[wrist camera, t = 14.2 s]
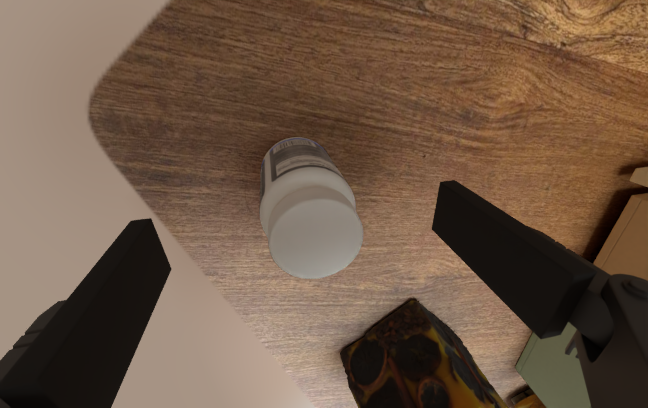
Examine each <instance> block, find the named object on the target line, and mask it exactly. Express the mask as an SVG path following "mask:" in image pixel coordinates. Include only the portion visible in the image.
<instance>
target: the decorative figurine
mask: <svg viewBox="0 0 648 408" xmlns="http://www.w3.org/2000/svg"><path fill="white" fill-rule="evenodd" d="M511 400H512V402H513V404H514V408H547V407H546V406H545V405H544V404H543V402H542V401H541V400H540V399H539V398H538V396H537V395H536V394H535V393H534V391H533V390H532V389H531V388H530V389H529V390H527V391H525V392H522V393H520V394H519V395H517V396H515V397H513V398H512V399H511Z"/></svg>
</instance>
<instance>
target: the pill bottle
mask: <svg viewBox="0 0 648 408" xmlns="http://www.w3.org/2000/svg"><path fill="white" fill-rule="evenodd" d="M259 214H260V221H261V225H262V228H263V230H264V232H265V234H266V235H267V237H268V244H269V250H270V254H271V256H272V258H273V260H274V261H275V263H276V264H277V265H278V266H279V267H280V268H281V269H282V270H283V271H285V272H286V273H288V274H290V275H292V276H295V277H299V278H305V279H317V278H324V277H327V276H330V275H333V274H335V273H337V272H339V271H340V270H342V269H343V268H345V267H346V266H348V265H349V264H350V263H351V262H352V261H353V259H354V258H355V257H356V255H357V254H358V252H359V250H360V248H361V245H362V241H363V227H362V223H361V220H360V218H359V216H358V214H357V213H356V203H355V198H354V195H353V192H352V190H351V188H350V186H349V184H348V183H347V182H346V180H345V179H344V177H343V176H342V174H341V173H340V171H339V170H338V169H337V167H336V166H335V164H334V163H333V161H332V160H331V158H330V157H329V155H328V154H327V152H326V151H325V150H324V148H323V147H321V146H320V145H319V144H318V143H316V142H314V141H313V140H310V139H307V138H303V137H292V138H287V139H284V140H281V141H279V142H278V143H276V144H275V145H274V146H273V147H272V148H271V149H270V150H269V151H268V152H267V153H266V155H265V157H264V159H263V162H262V165H261V173H260V210H259Z"/></svg>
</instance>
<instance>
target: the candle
mask: <svg viewBox="0 0 648 408" xmlns="http://www.w3.org/2000/svg"><path fill="white" fill-rule="evenodd" d="M340 355H341V359H342V362H343V366H344V368H345V372H346V374H347V375H348V377H347V379H348V385H349V388H350V390H351V392H352V394H353V397H354V399H355V401H356V403H357V405H358V408H508V407H507V406H506V404H505V403H504V402H503V400H502V399H501V397H500V396H499V395H498V393H497V392H496V391H495V389H494V388H493V386H492V385H491V384H489V382H488V380H487V378H486V377H485V375H484V374H483V373H482V372H481V370H480V369H479V367H478V366H477V364H476V363H475V361H474V360H473V358H472V355H471V354H470V353H469V351H468V350H467V347H465V346H464V345H463V342H462V341H461V339H460V338H459V337H458V336H457V335H456V334H455V333H454V332H453V331H452V330H450V327H448V326H447V325H446V324H445V323H443V322H442V321H441V320H439V319H438V318H437V317H436V316H435V315H434V314H432V313H430V312H429V311H428V310H427V309H426V308H425V307H423V306H422V305H421V304H420V303H419V301H414V300H411V301H410V302H408V303H407V304H405V305H404V306H402V307H401V308H400V309H399V310H397V311H396V312H394V313H393V314H391V315H390V316H388V317H387V318H386V319H384V320H383V321H381V322H380V323H379V324H377V325H376V326H374V327H373V328H372V329H371V330H370V331H369V332H367V333H366V335H365V337H364V338H362V339H360V340H359V341H357V342H355V343H354V344H352V345H350V346H349V347H347V348H346V349H344V350H343V351H342V352H341V353H340Z"/></svg>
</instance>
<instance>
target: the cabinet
mask: <svg viewBox="0 0 648 408" xmlns="http://www.w3.org/2000/svg"><path fill="white" fill-rule="evenodd" d="M576 330H577V329H576V328H575V327H574V326H573V325H571V324H570V323H569V322H568V323H567V325H566V327H565V328H564V330H563V332H562V334H561V335H558V336H554V337H550V338H545V339H540V338H539V337H538V336H537V335H536V334H535V333H534V332H533V333H532V335H531V337H530V339H529V341H528V343H527V345H526V347H525V349H524V351H523V353H522V355H521V357H520V359H519V361H518V363H517V365H516V367H515V369H516V370H517V371H518V373H520V375H521V376H522V378H523V379H524V380H525V381H526V383H527V384H528V385H529V386H530V388H531V389H532V390H533V391H534V393H535V394H536V395H537V396H538V398H539V399H540V400H541V401H542V402H543V404H544V405H545V406H546V407H547V408H591V404H590V400H589V396H588V392H587V388H586V384H585V380H584V377H583V373H582V369H581V365H580V361H579V359H578V358H575V356H576V355H577V349H576V348H573V350H572V352H571V353H570V355H567V354H565V348H566V347H567V345H568V343H569V342H570V340H571V338H572V337H573V335H574V334H575V332H576Z"/></svg>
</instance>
